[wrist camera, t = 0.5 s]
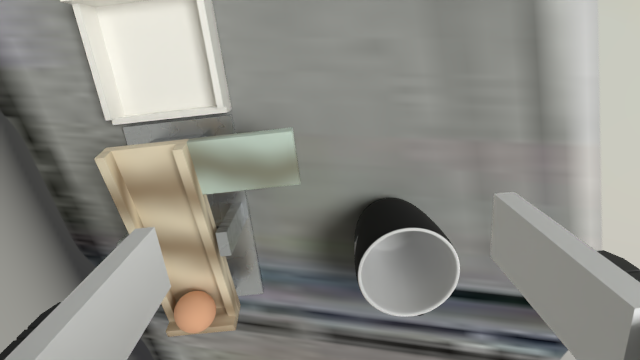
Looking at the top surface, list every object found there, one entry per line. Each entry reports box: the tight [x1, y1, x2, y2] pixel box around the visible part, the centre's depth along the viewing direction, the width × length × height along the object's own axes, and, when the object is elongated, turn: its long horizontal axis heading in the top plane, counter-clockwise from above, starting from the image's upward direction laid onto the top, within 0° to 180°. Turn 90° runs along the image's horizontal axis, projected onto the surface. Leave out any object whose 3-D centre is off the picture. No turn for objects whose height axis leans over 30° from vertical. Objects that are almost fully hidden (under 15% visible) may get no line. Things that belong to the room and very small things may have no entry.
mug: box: [354, 198, 460, 317], centre depth 37 cm, size 12×9×10 cm
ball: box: [174, 291, 216, 333], centre depth 37 cm, size 4×4×4 cm
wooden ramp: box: [95, 127, 300, 337], centre depth 35 cm, size 20×16×4 cm
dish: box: [60, 0, 232, 125], centre depth 34 cm, size 11×11×4 cm
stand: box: [117, 115, 264, 296], centre depth 38 cm, size 21×11×8 cm, turn 6°
